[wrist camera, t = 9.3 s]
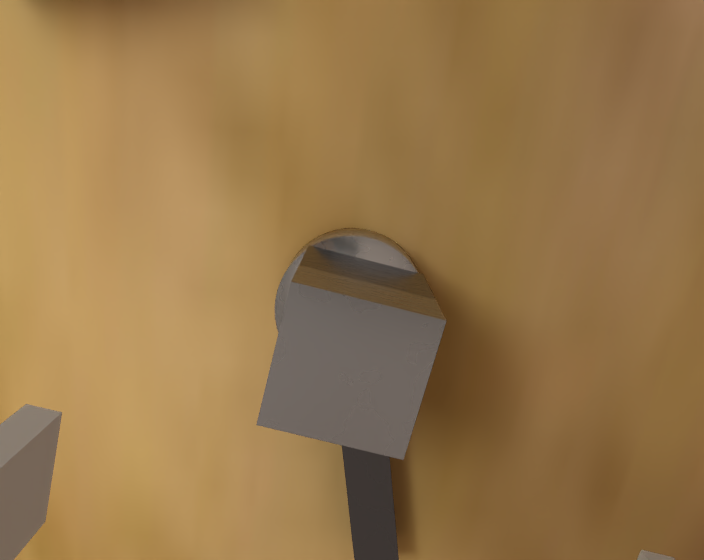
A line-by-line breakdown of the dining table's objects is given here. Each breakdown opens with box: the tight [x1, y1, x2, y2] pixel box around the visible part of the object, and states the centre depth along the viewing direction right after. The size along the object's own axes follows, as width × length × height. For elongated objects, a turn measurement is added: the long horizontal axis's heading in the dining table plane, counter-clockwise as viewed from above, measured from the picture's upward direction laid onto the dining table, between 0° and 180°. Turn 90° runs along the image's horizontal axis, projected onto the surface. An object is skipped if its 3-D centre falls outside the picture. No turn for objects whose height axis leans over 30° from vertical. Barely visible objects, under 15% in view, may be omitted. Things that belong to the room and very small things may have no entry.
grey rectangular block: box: [257, 245, 446, 460], centre depth 26 cm, size 6×6×8 cm
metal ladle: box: [275, 228, 418, 560], centre depth 31 cm, size 20×8×6 cm, turn 5°
